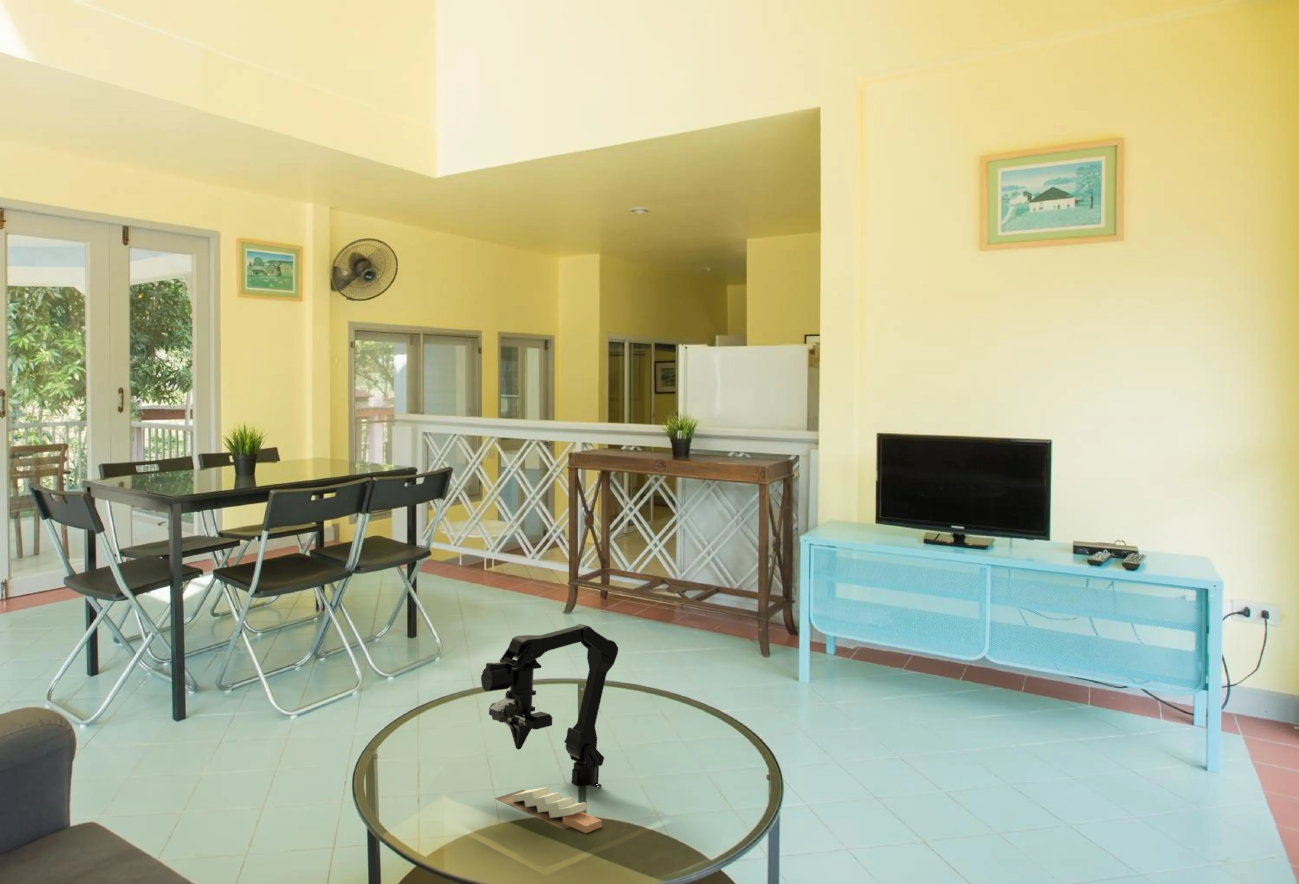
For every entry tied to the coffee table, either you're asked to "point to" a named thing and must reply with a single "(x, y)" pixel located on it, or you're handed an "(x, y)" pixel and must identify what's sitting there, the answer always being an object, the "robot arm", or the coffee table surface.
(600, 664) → the robot arm
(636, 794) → the coffee table surface
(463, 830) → the coffee table surface
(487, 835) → the coffee table surface
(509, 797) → the walnut board
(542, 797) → the ivory domino
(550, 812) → the ivory domino
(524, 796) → the ivory domino
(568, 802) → the ivory domino
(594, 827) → the terracotta domino
